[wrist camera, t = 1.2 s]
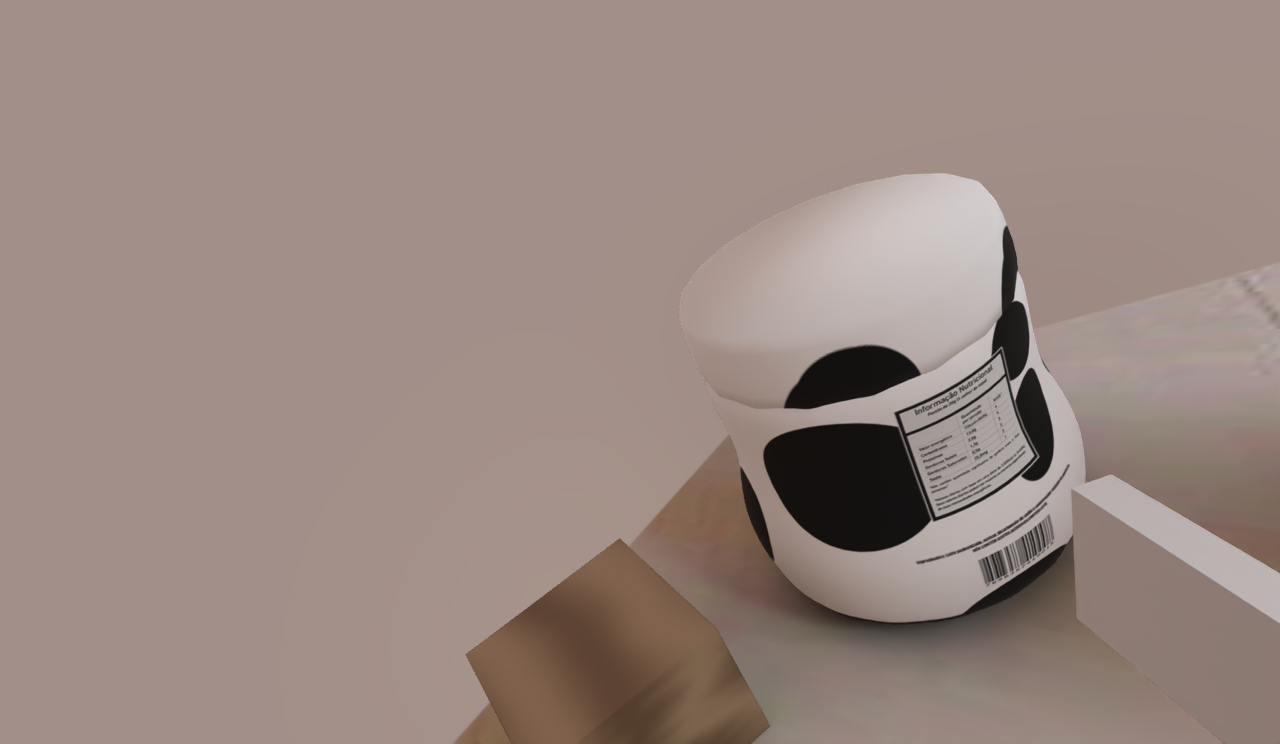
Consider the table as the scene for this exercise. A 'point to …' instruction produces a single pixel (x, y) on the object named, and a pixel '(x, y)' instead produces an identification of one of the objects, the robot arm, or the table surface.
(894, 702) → the table surface
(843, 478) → the milk container
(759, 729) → the walnut block
